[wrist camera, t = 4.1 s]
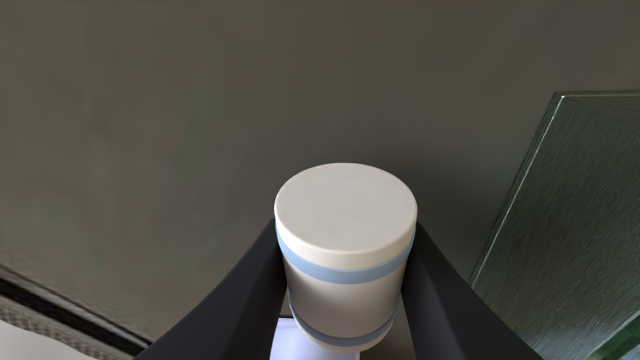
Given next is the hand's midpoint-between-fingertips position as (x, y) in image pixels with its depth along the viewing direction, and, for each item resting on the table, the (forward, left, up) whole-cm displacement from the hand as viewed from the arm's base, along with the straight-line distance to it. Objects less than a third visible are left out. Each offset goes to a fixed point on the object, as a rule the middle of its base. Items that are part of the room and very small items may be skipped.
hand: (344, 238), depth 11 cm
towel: (+2, 0, +2) cm, 3 cm away
